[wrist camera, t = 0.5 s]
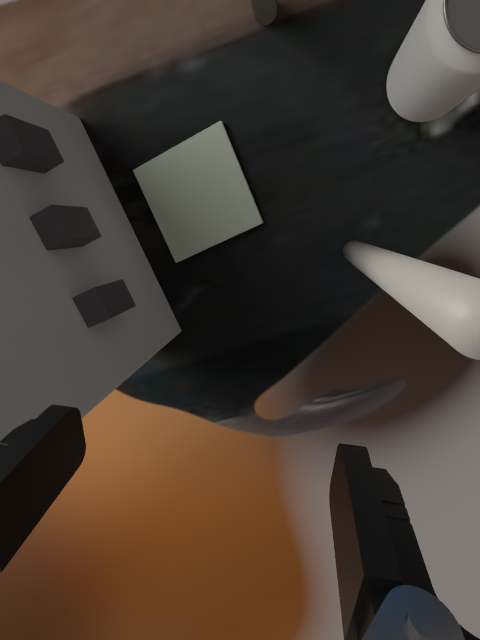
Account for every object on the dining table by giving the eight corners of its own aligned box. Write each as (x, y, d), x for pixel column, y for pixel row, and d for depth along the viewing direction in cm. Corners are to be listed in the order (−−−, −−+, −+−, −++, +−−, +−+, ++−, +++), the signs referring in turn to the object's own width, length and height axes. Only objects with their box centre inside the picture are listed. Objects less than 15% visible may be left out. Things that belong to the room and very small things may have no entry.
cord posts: (271, -8, 29) (102, -1233, 5) (366, 256, 34) (541, 345, 9) (250, 6, 30) (-4, -1029, 5) (346, 264, 34) (458, 369, 9)
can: (462, 21, 28) (572, -121, 16) (473, 107, 29) (583, 31, 18) (377, 55, 29) (424, -53, 18) (392, 135, 31) (445, 82, 19)
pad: (222, 122, 33) (220, 120, 32) (263, 222, 34) (262, 222, 34) (135, 171, 35) (132, 170, 35) (177, 262, 37) (175, 262, 36)
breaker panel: (95, 107, 34) (-437, -189, 10) (197, 324, 39) (6, 503, 14) (42, 141, 36) (-519, -35, 12) (145, 345, 40) (-105, 535, 16)
